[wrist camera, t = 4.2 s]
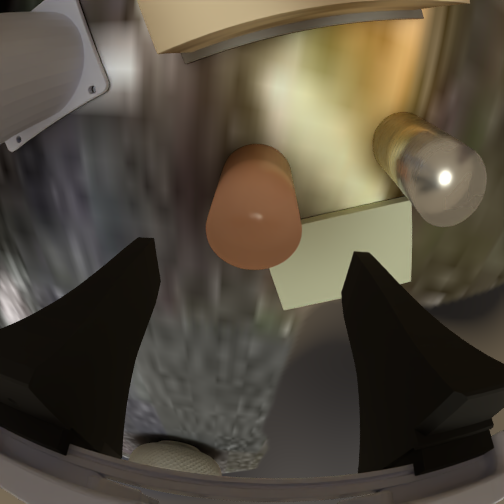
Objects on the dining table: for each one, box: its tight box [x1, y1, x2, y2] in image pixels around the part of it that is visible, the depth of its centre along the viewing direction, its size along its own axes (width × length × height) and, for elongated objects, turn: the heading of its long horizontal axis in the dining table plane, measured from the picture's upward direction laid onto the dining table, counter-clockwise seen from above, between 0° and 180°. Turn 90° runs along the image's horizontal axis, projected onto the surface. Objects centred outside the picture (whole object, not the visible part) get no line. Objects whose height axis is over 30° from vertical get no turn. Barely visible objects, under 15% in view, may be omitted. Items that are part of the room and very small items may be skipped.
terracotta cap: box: [206, 144, 302, 270], centre depth 15 cm, size 4×4×6 cm
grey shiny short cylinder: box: [373, 112, 487, 227], centre depth 14 cm, size 4×4×6 cm
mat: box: [269, 196, 412, 310], centre depth 21 cm, size 10×7×1 cm
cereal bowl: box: [129, 440, 222, 476], centre depth 45 cm, size 17×17×7 cm
